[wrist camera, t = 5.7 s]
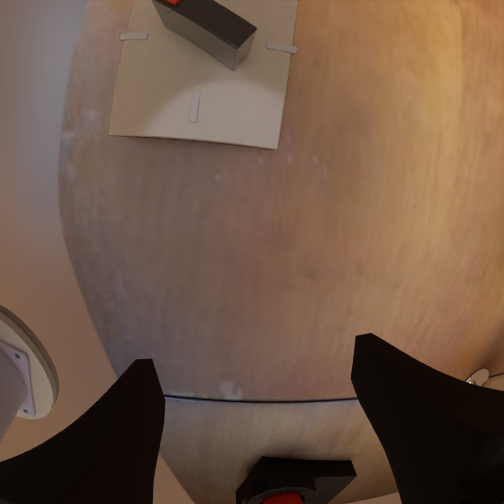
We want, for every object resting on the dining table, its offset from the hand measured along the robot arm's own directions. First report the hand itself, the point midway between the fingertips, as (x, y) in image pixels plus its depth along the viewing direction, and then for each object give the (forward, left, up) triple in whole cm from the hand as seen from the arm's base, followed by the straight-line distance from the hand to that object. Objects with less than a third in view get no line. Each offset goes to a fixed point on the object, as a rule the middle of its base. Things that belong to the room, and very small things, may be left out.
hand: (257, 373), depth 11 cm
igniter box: (+13, -21, -9) cm, 26 cm away
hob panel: (-6, +11, -9) cm, 16 cm away
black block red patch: (-6, +11, -6) cm, 14 cm away
